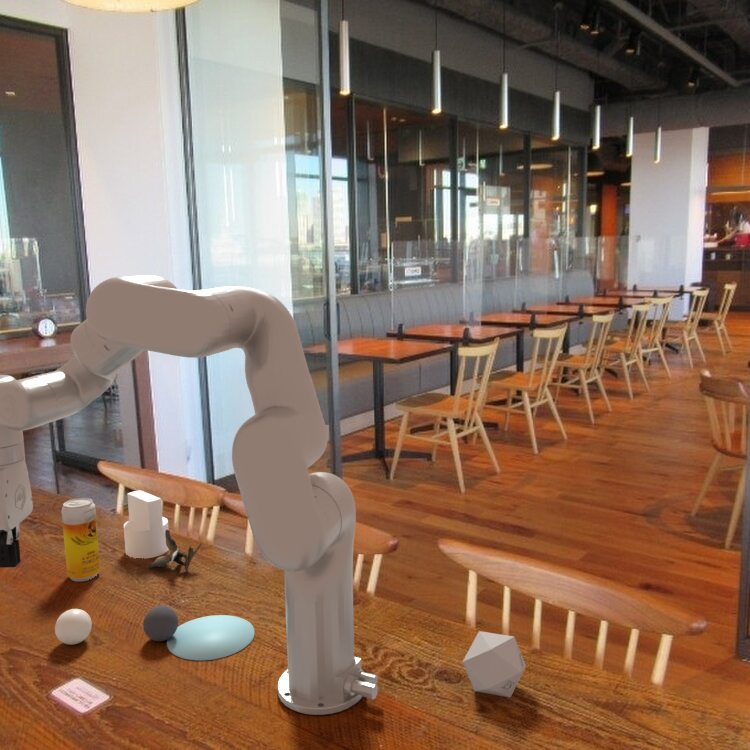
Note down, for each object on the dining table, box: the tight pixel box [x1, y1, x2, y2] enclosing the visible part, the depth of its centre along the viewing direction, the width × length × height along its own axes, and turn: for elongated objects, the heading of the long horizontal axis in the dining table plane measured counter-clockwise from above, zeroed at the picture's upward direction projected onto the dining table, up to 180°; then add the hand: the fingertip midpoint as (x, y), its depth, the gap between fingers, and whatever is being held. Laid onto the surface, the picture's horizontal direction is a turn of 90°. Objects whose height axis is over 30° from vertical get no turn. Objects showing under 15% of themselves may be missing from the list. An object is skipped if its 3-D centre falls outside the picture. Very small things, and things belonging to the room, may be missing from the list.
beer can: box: [61, 497, 101, 582], centre depth 143 cm, size 6×6×15 cm
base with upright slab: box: [123, 489, 170, 559], centre depth 155 cm, size 9×9×12 cm
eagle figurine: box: [148, 530, 202, 573], centre depth 147 cm, size 8×8×10 cm
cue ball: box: [54, 608, 93, 645], centre depth 119 cm, size 6×6×6 cm
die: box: [462, 630, 527, 699], centre depth 104 cm, size 8×9×10 cm
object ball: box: [142, 605, 179, 642], centre depth 120 cm, size 6×6×6 cm
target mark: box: [166, 614, 256, 661], centre depth 120 cm, size 14×14×1 cm
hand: (8, 565), depth 118 cm, fingers closed
